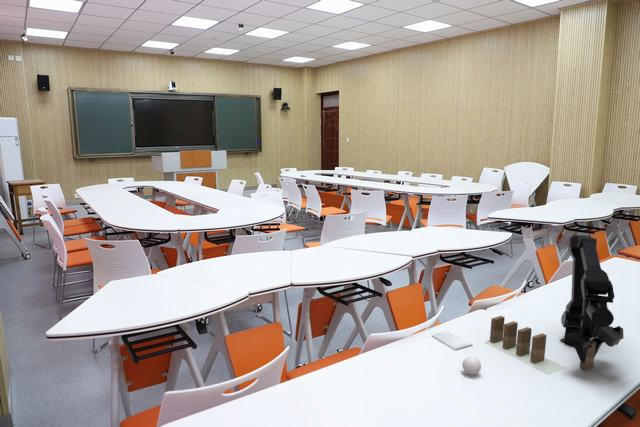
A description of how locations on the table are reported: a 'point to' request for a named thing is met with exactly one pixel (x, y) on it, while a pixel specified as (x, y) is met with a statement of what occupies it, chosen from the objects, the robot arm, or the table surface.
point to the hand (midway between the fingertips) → (587, 360)
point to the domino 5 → (589, 358)
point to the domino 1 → (497, 329)
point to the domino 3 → (523, 341)
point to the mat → (544, 366)
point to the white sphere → (471, 365)
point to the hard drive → (451, 340)
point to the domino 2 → (510, 335)
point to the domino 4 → (538, 348)
